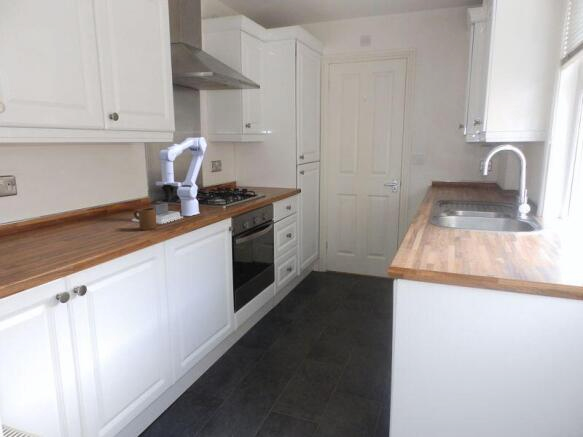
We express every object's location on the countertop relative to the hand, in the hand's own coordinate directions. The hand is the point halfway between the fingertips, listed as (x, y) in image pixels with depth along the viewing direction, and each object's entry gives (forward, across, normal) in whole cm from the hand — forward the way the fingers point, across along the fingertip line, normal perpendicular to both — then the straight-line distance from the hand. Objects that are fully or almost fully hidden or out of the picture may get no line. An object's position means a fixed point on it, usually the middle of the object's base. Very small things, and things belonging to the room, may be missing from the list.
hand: (169, 199), depth 214 cm
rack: (+10, -6, -3) cm, 12 cm away
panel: (+10, -4, -2) cm, 11 cm away
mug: (+11, +4, -22) cm, 25 cm away
